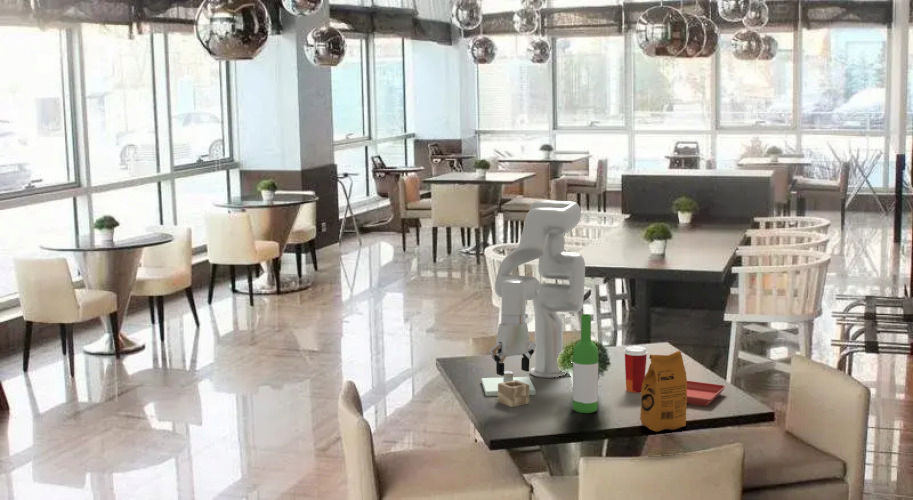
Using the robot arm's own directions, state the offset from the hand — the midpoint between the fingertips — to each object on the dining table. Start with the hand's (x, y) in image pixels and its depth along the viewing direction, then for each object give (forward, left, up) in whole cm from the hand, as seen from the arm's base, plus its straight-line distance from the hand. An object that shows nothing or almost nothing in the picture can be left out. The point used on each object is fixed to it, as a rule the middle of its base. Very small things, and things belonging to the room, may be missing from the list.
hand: (512, 372), depth 351 cm
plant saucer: (-57, -1, -11) cm, 58 cm away
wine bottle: (-21, +9, -10) cm, 25 cm away
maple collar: (0, -1, -10) cm, 10 cm away
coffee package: (-41, +26, -10) cm, 50 cm away
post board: (0, -17, -10) cm, 19 cm away
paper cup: (-41, -11, -10) cm, 44 cm away
